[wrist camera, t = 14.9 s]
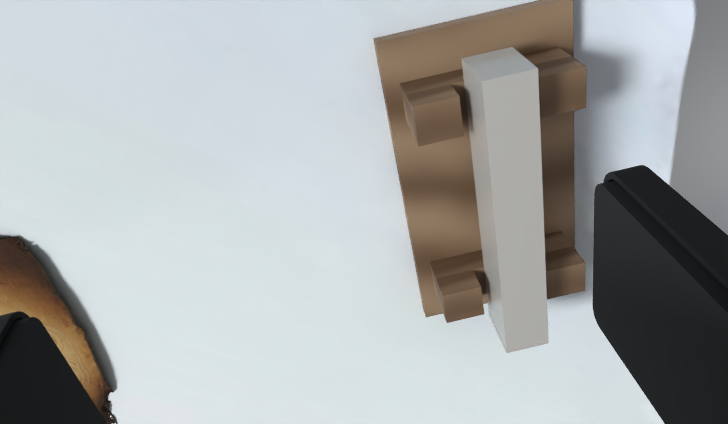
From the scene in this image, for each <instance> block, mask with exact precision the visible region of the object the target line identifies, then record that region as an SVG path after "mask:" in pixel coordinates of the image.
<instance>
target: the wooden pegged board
mask: <svg viewBox="0 0 728 424" xmlns="http://www.w3.org/2000/svg"><path fill="white" fill-rule="evenodd" d="M374 45H375V50H376V55H377V61H378V66H379V72H380V77H381V83H382V88H383V93H384V99H385V104H386V110H387V115H388V120H389V126H390V131H391V137H392V142H393V147H394V153H395V158H396V164H397V169H398V175H399V180H400V185H401V191H402V196H403V202H404V207H405V212H406V218H407V223H408V229H409V234H410V239H411V245H412V250H413V256H414V261H415V266H416V272H417V277H418V283H419V288H420V294H421V299H422V304H423V309H424V313H425V316H426V317H429V316H434V315H438V314H442V313H443V314H444V317H445V319H446V322H447V323H449V322H453V321H457V320H461V319H466V318H470V317H474V316H478V315H483V314H484V308H483V304H485V303H488V301H487V292H486V282H485V273H484V264H483V254H482V245H481V236H480V226H479V217H478V208H477V199H476V189H475V180H474V171H473V161H472V152H471V143H470V133H469V124H468V115H467V105H466V96H465V87H464V78H463V68H462V58H466V57H470V56H475V55H479V54H483V53H488V52H492V51H496V50H501V49H505V48H509V47H513V48H514V49H515V50H517V51H518V52H519V53H520V54H521V55H523V56H524V57H525V58H526V59H527V60H529V61H530V62H531V63H532V64H533V65H535V66H536V67H537V68H538V78H539V105H540V131H541V158H542V184H543V210H544V237H545V263H546V290H547V299H550V298H555V297H559V296H563V295H567V294H572V293H576V292H580V291H584V290H585V262H584V260H583V259H582V258H581V256H580V255H579V254H578V253H577V251H576V250H575V243H574V110H578V109H582V108H586V66H585V65H583V64H582V63H581V62H579V61H578V60H576V59H575V58H573V0H538V1H534V2H530V3H525V4H521V5H517V6H513V7H508V8H504V9H500V10H495V11H491V12H487V13H482V14H478V15H474V16H469V17H465V18H461V19H456V20H452V21H448V22H443V23H439V24H435V25H431V26H426V27H422V28H418V29H413V30H409V31H405V32H400V33H396V34H392V35H387V36H383V37H379V38H374Z"/></svg>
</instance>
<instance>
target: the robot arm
mask: <svg viewBox="0 0 728 424" xmlns="http://www.w3.org/2000/svg"><path fill="white" fill-rule="evenodd" d="M593 311H594V316H595V319H596V321H597V324H598V326H599V327H600V329H601V330H602V332H603V333H604V335H605V336H606V338H607V339H608V341H609V342H610V344H611V345H612V347H613V348H614V349H615V351H616V352H617V354H618V355H619V357H620V358H621V360H622V361H623V363H624V364H625V366H626V367H627V369H628V370H629V372H630V373H631V374H632V376H633V377H634V379H635V380H636V382H637V383H638V385H639V386H640V388H641V389H642V391H643V392H644V394H645V395H646V397H647V398H648V399H649V401H650V402H651V404H652V405H653V407H654V408H655V410H656V411H657V413H658V414H659V416H660V417H661V419H662V420H663V422H664V423H665V424H728V235H727V234H726V233H724V232H723V231H722V230H721V229H720V228H718V227H717V226H716V225H715V224H714V223H713V222H711V221H710V220H709V219H708V218H707V217H706V216H704V215H703V214H702V213H701V212H700V211H699V210H697V209H696V208H695V207H694V206H693V205H691V204H690V203H689V202H688V201H687V200H686V199H684V198H683V197H682V196H681V195H680V194H679V193H677V192H676V191H675V190H674V189H673V188H671V187H670V186H669V185H668V184H667V183H666V182H664V181H663V180H662V179H661V178H660V177H659V176H657V175H656V174H655V173H654V172H653V171H652V170H650V169H649V168H648V167H646V166H644V165H640V166H635V167H631V168H627V169H623V170H618V171H614V172H610V173H608V174H607V175H606V176H605V178H604V183H601V184H598V185H597V186H596V188H595V198H594V262H593ZM0 424H107V423H106V421H105V419H104V418H103V416H102V415H101V413H100V412H99V410H98V409H97V407H96V405H95V404H94V402H93V401H92V399H91V398H90V396H89V395H88V393H87V392H86V390H85V388H84V387H83V385H82V384H81V382H80V381H79V379H78V378H77V376H76V375H75V373H74V371H73V370H72V368H71V367H70V365H69V364H68V362H67V361H66V359H65V358H64V356H63V354H62V353H61V351H60V350H59V348H58V347H57V345H56V344H55V342H54V341H53V339H52V337H51V336H50V334H49V333H48V331H47V330H46V328H45V327H44V325H43V324H42V322H41V321H40V320H39V319H38V318H36V317H29V316H28V315H27V314H26V313H24V312H20V311H17V312H12V313H8V314H4V315H0Z"/></svg>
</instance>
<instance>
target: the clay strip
mask: <svg viewBox="0 0 728 424" xmlns="http://www.w3.org/2000/svg"><path fill="white" fill-rule="evenodd" d="M462 68H463V78H464V87H465V96H466V105H467V115H468V124H469V133H470V143H471V152H472V161H473V171H474V180H475V189H476V199H477V208H478V217H479V226H480V236H481V245H482V254H483V264H484V273H485V282H486V292H487V301H488V310H489V316H490V318H491V320H492V323H493V325H494V327H495V329H496V331H497V333H498V336H499V338H500V340H501V342H502V344H503V346H504V349H505V351H506V353H509V352H513V351H517V350H522V349H526V348H530V347H534V346H538V345H543V344H547V343H548V316H547V290H546V263H545V237H544V210H543V184H542V158H541V131H540V105H539V78H538V68H537V67H536V66H535V65H533V64H532V63H531V62H530V61H529V60H527V59H526V58H525V57H524V56H523V55H521V54H520V53H519V52H518V51H517V50H515V49H514V48H513V47H509V48H505V49H501V50H496V51H492V52H488V53H483V54H479V55H475V56H470V57H466V58H462Z"/></svg>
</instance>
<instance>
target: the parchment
mask: <svg viewBox="0 0 728 424" xmlns="http://www.w3.org/2000/svg"><path fill="white" fill-rule="evenodd" d="M17 311H20V312H24V313H26V314H27V315H28V316H29V317H36V318H38V319H39V320H40V321H41V322H42V324H43V325H44V327H45V328H46V330H47V331H48V333H49V334H50V336H51V337H52V339H53V341H54V342H55V344H56V345H57V347H58V348H59V350H60V351H61V353H62V354H63V356H64V358H65V359H66V361H67V362H68V364H69V365H70V367H71V368H72V370H73V371H74V373H75V375H76V376H77V378H78V379H79V381H80V382H81V384H82V385H83V387H84V388H85V390H86V392H87V393H88V395H89V396H90V398H91V399H92V401H93V402H94V404H95V405H96V407H97V409H98V410H99V412H100V413H101V415H102V416H103V418H104V419H105V421H106V423H107V424H111V423H113V424H114V423H115V419H114V418H113V415H112V414H111V413H110V411H109V402H110V401H108V400H107V399H108V398H107V396H108V395H109V393H110V392H113V391H112V389H111V388H110V386H109V385H108V384H107V383H106V381H105V378H104V374H103V371H102V369H101V367H100V366H99V364H98V361H97V359H96V356H95V353H94V351H93V350H92V348H91V346H90V342H89V341H88V340H87V336H86V330H84V329H82V328H81V327H79V326H78V325H77V323H76V320H75V318H74V317H73V315H72V313H71V311H70V308H68V306H67V305H66V304H65V302H64V301H63V299H61V296H59V295H58V294H57V292H56V289H55V287H54V286H53V283H51V280H49V278H48V276H47V274H46V271H45V270H44V268H43V267H42V266H41V265H40V263H39V262H38V260H37V259H36V258H35V257H34V256H33V254H31V253H30V252H29V248H28V247H25V246H24V245H23V242H22V241H21V240H20V239H19V238H18V237H10V238H7V239H0V315H4V314H8V313H12V312H17ZM108 413H109V414H108ZM110 415H111V416H112V417H111V418H113V419H111V418H110Z"/></svg>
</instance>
